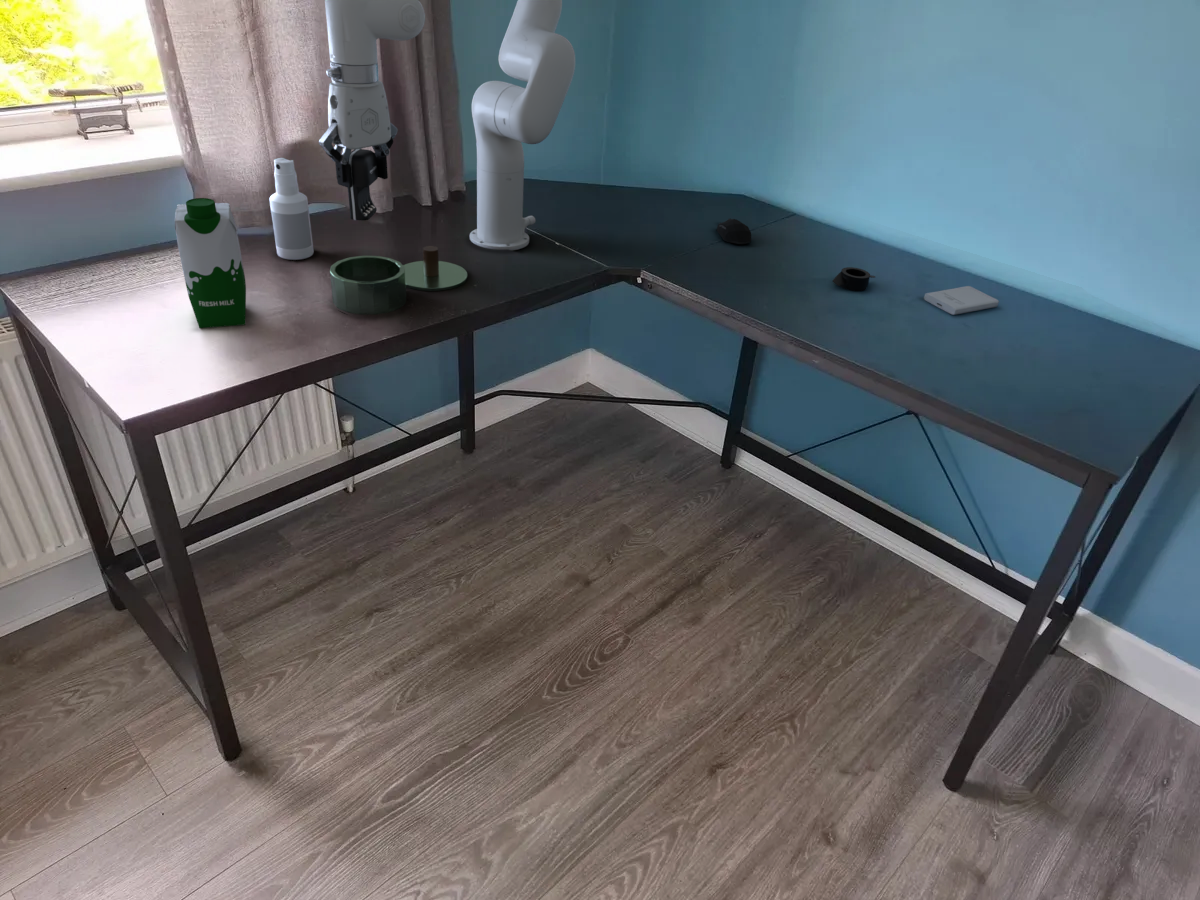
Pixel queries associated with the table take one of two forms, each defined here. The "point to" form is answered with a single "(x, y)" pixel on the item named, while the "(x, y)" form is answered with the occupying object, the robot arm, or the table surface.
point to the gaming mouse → (734, 232)
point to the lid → (433, 273)
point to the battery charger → (362, 183)
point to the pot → (368, 285)
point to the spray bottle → (290, 214)
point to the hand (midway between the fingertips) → (363, 180)
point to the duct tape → (853, 279)
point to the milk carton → (211, 262)
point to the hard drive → (961, 300)
